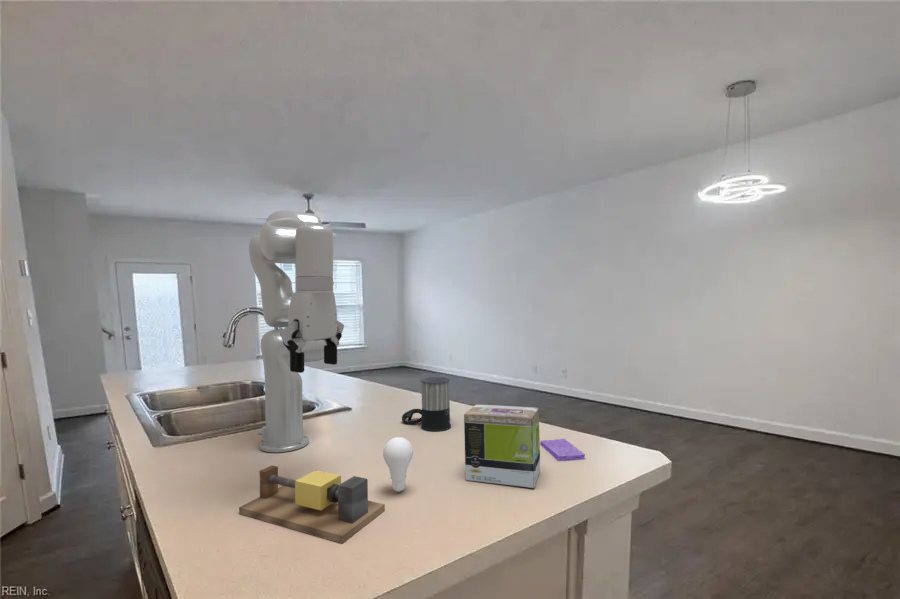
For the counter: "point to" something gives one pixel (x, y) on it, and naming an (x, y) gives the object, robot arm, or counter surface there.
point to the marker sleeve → (315, 489)
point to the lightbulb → (398, 460)
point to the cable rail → (328, 523)
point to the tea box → (502, 445)
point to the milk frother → (432, 405)
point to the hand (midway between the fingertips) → (314, 367)
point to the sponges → (562, 450)
